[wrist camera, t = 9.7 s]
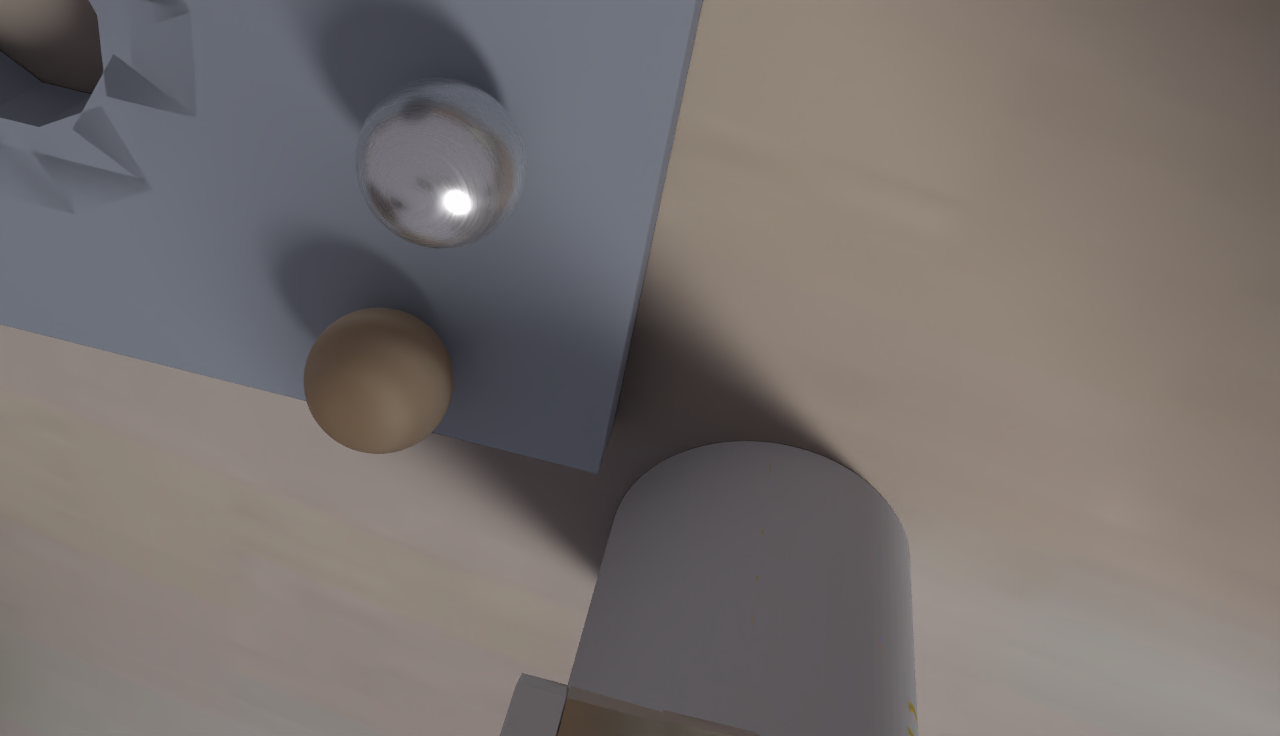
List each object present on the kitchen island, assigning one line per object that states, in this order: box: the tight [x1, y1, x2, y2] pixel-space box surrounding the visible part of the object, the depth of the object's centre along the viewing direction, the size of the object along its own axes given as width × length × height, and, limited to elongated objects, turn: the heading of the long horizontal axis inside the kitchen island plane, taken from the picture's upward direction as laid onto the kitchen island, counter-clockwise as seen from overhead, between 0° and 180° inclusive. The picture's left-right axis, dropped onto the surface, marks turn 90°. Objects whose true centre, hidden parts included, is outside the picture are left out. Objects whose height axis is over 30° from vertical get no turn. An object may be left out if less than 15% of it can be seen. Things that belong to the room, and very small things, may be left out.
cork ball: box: [303, 307, 454, 454], centre depth 24 cm, size 3×3×3 cm
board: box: [0, 0, 703, 474], centre depth 23 cm, size 20×16×2 cm
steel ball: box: [355, 78, 527, 249], centre depth 21 cm, size 3×3×3 cm
